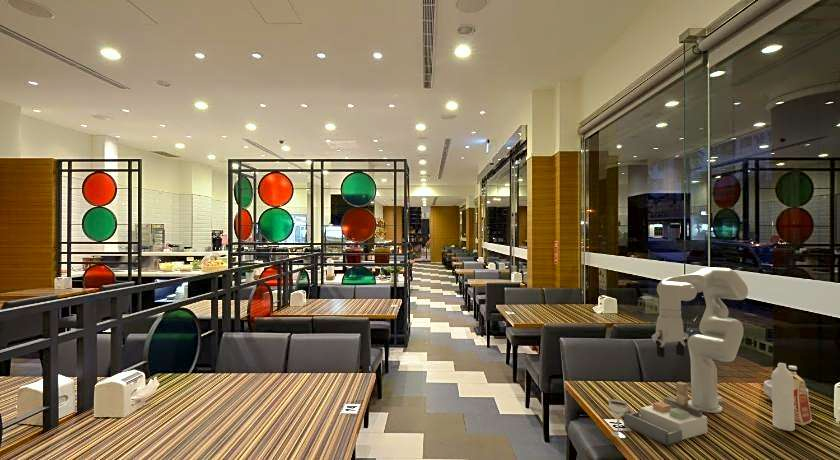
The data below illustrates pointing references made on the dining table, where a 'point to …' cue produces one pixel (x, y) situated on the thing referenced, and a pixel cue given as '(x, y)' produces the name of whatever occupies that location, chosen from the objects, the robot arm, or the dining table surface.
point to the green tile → (679, 413)
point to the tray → (652, 430)
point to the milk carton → (801, 401)
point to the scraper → (682, 400)
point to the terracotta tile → (661, 406)
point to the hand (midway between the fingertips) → (670, 355)
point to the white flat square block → (675, 422)
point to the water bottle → (783, 397)
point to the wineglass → (618, 413)
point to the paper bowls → (769, 388)
